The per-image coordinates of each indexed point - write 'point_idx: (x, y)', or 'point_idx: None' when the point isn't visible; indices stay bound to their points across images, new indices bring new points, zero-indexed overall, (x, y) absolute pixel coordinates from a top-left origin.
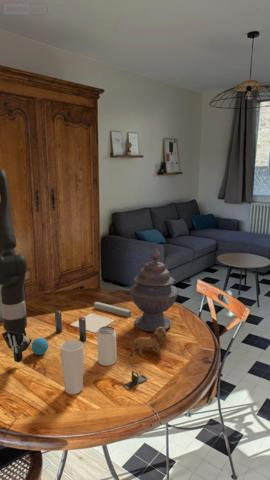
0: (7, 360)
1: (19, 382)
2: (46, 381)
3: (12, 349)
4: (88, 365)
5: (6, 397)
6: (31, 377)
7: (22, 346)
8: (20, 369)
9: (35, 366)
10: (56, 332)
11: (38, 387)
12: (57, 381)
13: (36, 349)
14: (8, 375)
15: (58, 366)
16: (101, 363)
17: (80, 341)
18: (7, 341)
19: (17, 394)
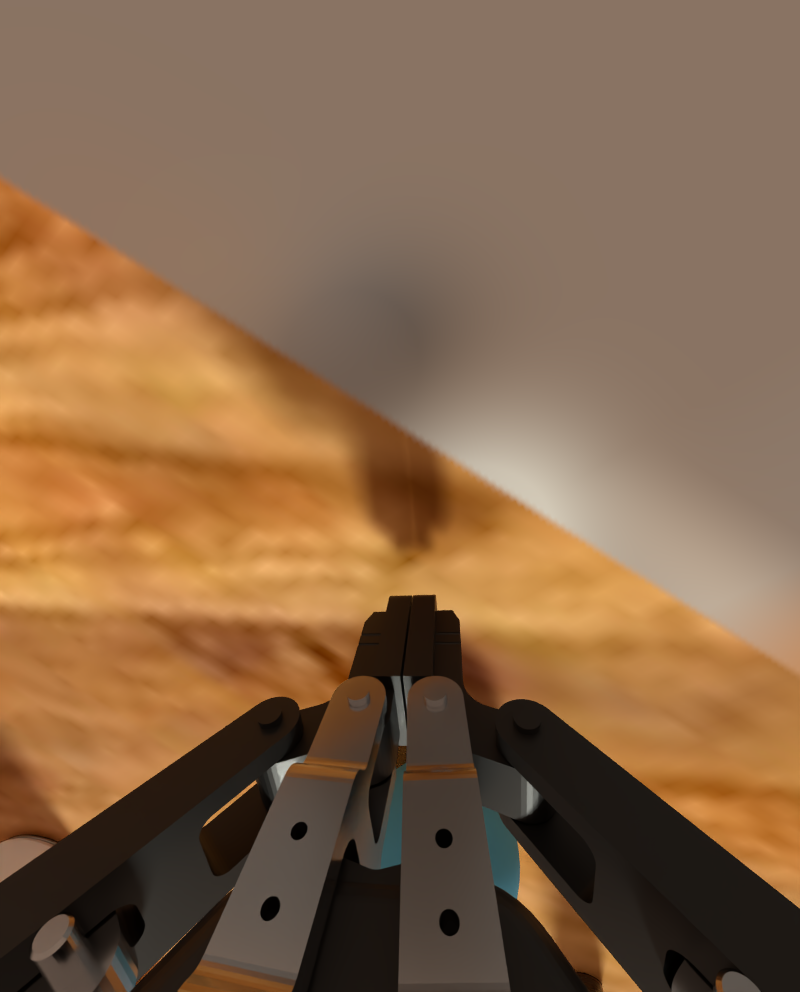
0: (604, 586)
1: (192, 445)
2: (70, 575)
3: (448, 705)
4: (75, 806)
5: (52, 231)
6: (191, 545)
7: (114, 836)
8: (366, 564)
9: (308, 651)
10: (583, 978)
11: (33, 496)
12: (25, 615)
13: (396, 808)
14: (365, 448)
15: (186, 726)
16: (12, 848)
17: None
18: (603, 833)
19: (39, 330)
